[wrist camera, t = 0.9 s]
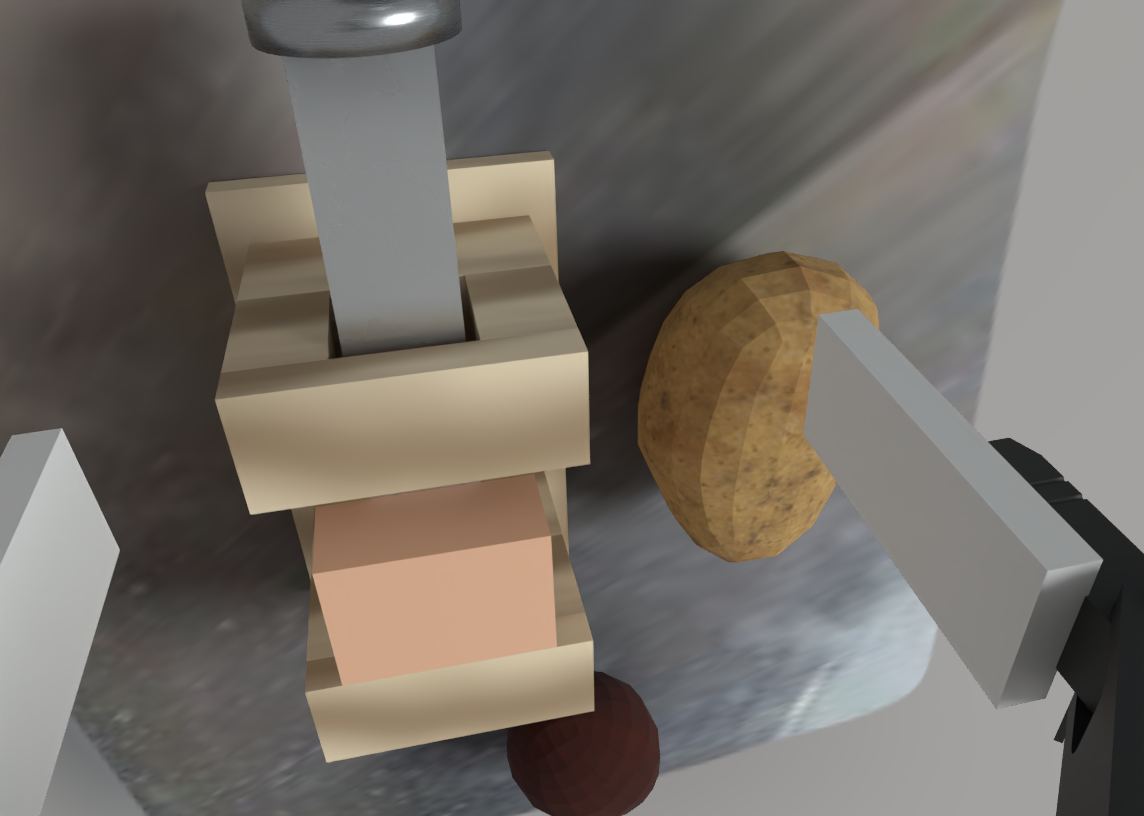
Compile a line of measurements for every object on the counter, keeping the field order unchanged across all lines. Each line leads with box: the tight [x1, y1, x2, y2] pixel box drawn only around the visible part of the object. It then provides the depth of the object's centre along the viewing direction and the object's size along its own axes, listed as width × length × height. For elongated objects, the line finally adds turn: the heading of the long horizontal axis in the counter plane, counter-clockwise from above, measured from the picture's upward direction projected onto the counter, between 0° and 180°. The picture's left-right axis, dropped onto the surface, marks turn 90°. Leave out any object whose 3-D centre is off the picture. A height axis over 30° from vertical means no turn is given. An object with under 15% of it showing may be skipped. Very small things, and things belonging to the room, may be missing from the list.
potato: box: [638, 251, 879, 562], centre depth 36 cm, size 10×14×8 cm
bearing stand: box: [205, 151, 594, 762], centre depth 33 cm, size 20×12×11 cm, turn 2°
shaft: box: [241, 0, 481, 499], centre depth 29 cm, size 26×5×5 cm, turn 2°
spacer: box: [312, 474, 557, 686], centre depth 29 cm, size 5×7×3 cm
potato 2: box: [507, 671, 660, 816], centre depth 47 cm, size 8×9×8 cm
